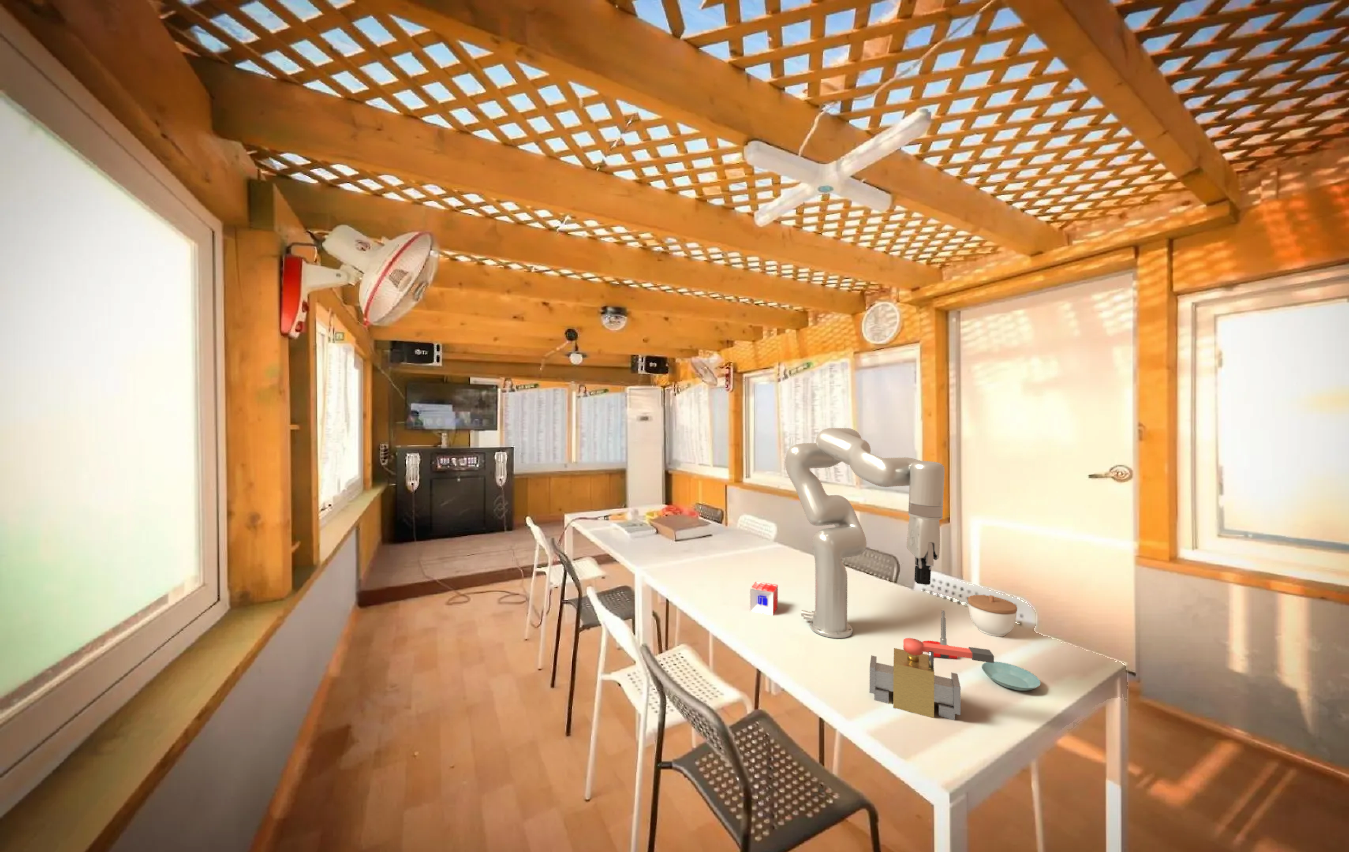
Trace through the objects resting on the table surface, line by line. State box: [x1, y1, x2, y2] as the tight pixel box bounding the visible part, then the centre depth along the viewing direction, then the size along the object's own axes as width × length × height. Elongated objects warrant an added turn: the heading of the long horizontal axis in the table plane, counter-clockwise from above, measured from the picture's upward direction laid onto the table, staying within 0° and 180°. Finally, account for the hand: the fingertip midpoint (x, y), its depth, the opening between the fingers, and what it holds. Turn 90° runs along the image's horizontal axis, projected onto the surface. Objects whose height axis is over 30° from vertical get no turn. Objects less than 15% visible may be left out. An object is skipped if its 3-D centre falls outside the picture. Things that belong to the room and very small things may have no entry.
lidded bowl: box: [967, 594, 1018, 637], centre depth 141 cm, size 13×13×11 cm
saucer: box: [981, 661, 1041, 692], centre depth 113 cm, size 12×12×2 cm
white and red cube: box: [749, 581, 779, 616], centre depth 157 cm, size 8×8×8 cm
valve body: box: [869, 647, 962, 721], centre depth 104 cm, size 18×8×14 cm, turn 63°
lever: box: [902, 637, 995, 663], centre depth 102 cm, size 18×4×2 cm, turn 72°
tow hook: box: [922, 609, 958, 660], centre depth 129 cm, size 8×13×9 cm
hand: (922, 582), depth 114 cm, fingers closed
